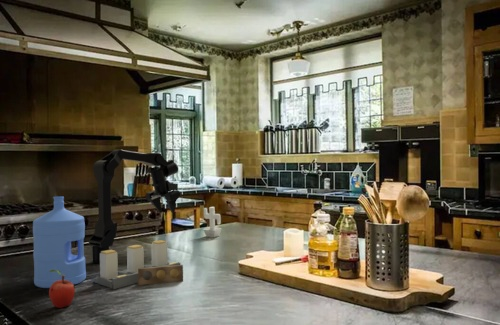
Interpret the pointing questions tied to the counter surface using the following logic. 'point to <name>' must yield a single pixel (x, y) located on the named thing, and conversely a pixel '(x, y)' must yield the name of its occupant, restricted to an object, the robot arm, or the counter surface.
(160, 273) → the plaque
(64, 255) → the water jug
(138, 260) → the button middle
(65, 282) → the apple
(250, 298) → the counter surface
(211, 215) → the figurine
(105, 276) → the button left
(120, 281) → the button board
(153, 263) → the button right
